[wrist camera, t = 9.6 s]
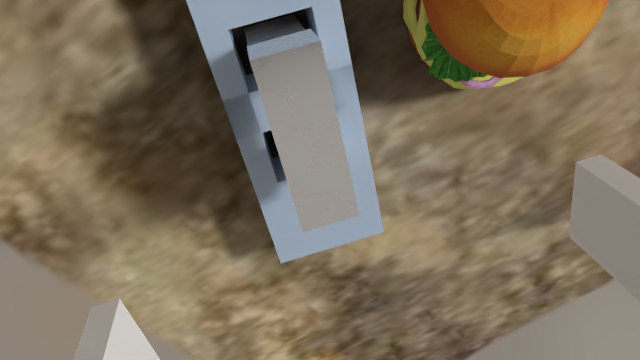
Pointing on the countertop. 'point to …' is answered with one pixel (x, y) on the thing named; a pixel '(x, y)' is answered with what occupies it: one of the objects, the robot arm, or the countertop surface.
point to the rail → (251, 122)
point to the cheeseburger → (497, 37)
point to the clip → (302, 119)
